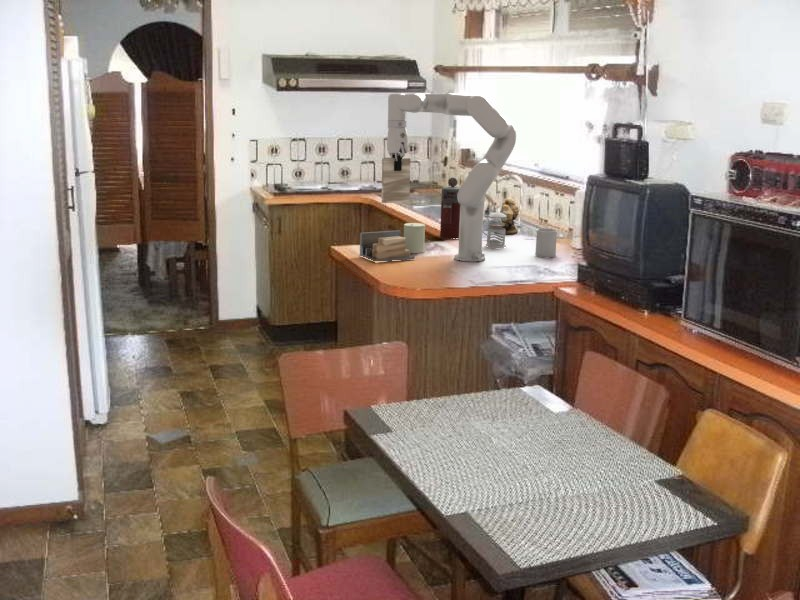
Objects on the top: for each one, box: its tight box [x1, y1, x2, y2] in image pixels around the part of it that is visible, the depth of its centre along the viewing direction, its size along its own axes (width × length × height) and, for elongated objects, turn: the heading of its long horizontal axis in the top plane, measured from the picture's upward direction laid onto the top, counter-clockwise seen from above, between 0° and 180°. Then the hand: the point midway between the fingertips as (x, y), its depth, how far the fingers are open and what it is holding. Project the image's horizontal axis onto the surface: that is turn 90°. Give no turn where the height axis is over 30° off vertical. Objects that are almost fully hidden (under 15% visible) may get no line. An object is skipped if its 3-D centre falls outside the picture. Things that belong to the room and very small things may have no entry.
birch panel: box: [381, 157, 411, 204], centre depth 367 cm, size 2×12×18 cm, turn 118°
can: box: [403, 222, 426, 254], centre depth 381 cm, size 9×9×12 cm
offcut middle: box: [373, 244, 406, 252], centre depth 361 cm, size 6×12×2 cm, turn 118°
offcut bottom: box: [372, 249, 411, 259], centre depth 362 cm, size 6×14×2 cm, turn 118°
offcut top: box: [378, 236, 406, 246], centre depth 361 cm, size 5×10×2 cm, turn 126°
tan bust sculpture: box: [493, 197, 519, 236], centre depth 435 cm, size 18×12×17 cm, turn 176°
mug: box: [534, 228, 558, 258], centre depth 380 cm, size 12×8×11 cm
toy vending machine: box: [439, 176, 461, 240], centre depth 414 cm, size 9×11×28 cm
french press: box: [482, 189, 507, 249], centre depth 395 cm, size 10×12×25 cm
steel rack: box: [359, 229, 416, 261], centre depth 364 cm, size 14×18×10 cm
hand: (396, 170), depth 366 cm, fingers closed on birch panel, 2 cm apart
